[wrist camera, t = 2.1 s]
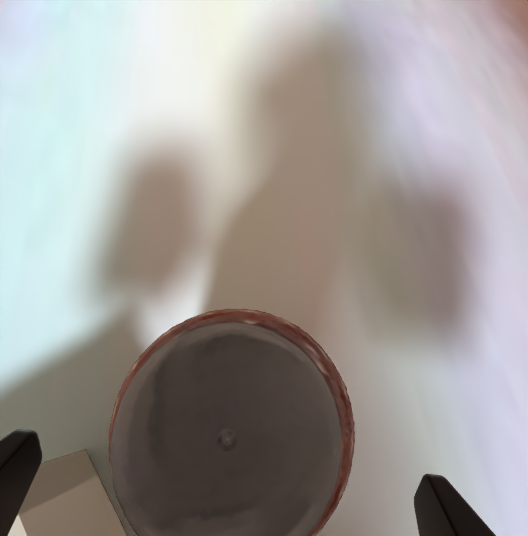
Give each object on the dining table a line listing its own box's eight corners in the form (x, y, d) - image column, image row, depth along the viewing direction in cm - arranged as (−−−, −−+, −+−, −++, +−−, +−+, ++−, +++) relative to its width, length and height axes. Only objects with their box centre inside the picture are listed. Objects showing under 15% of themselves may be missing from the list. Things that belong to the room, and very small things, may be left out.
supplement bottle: (330, 447, 17) (478, 534, 6) (206, 518, 16) (117, 781, 5) (269, 327, 18) (300, 226, 8) (154, 384, 17) (0, 360, 7)
